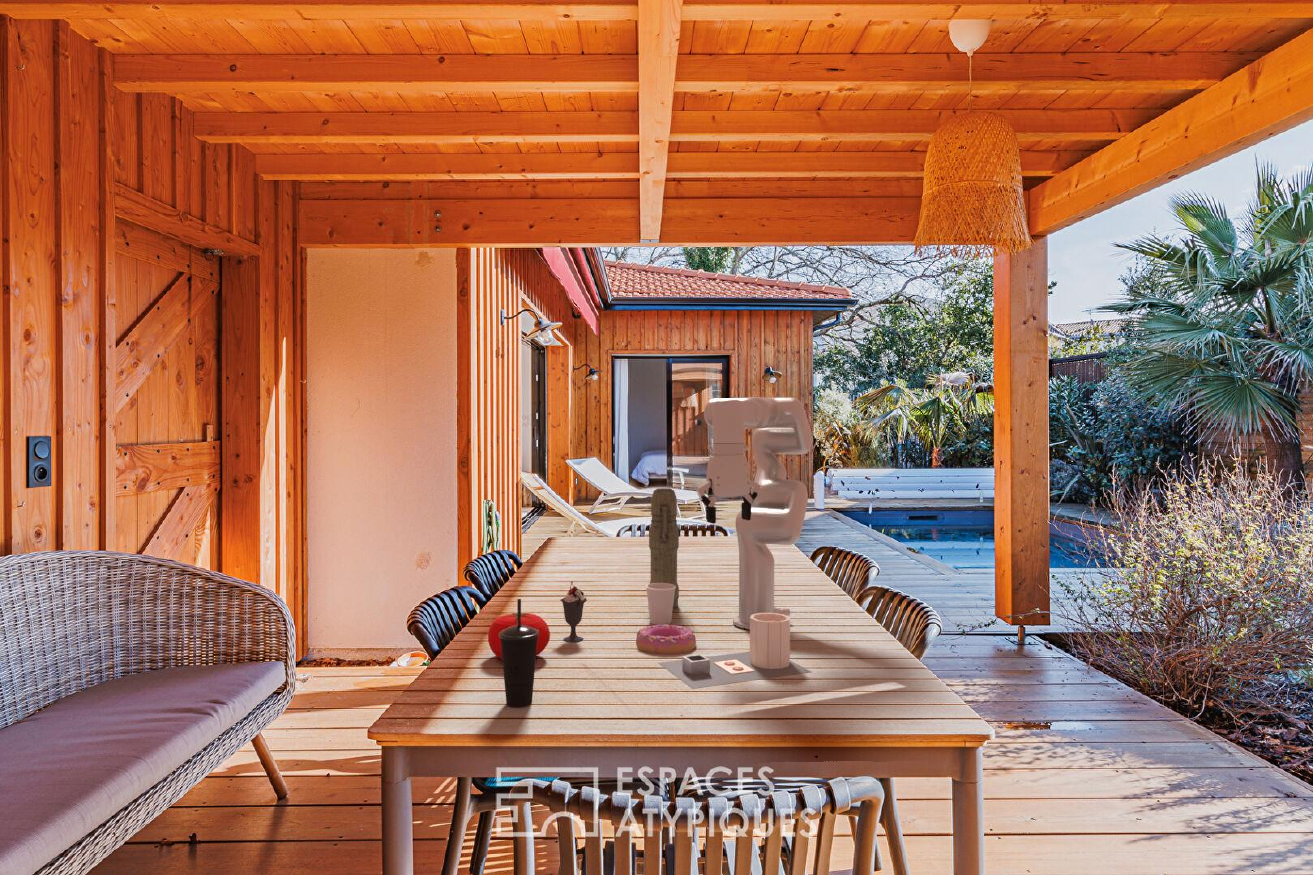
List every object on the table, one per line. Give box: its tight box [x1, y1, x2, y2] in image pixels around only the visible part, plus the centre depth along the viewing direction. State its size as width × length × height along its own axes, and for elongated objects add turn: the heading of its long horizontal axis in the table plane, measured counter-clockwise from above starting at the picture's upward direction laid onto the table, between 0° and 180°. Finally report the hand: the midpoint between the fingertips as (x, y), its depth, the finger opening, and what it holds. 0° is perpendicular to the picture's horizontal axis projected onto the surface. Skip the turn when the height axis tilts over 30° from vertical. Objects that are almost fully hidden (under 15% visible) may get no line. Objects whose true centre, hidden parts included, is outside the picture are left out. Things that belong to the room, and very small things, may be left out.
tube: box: [749, 613, 791, 669], centre depth 169 cm, size 9×9×10 cm
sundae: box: [559, 581, 588, 643], centre depth 191 cm, size 7×7×15 cm
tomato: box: [487, 612, 551, 660], centre depth 176 cm, size 14×13×10 cm
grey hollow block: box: [681, 653, 710, 676], centre depth 162 cm, size 4×4×3 cm
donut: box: [635, 624, 697, 655], centre depth 182 cm, size 14×14×5 cm
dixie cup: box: [645, 583, 676, 625], centre depth 209 cm, size 8×8×10 cm
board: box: [658, 651, 812, 690], centre depth 165 cm, size 28×18×2 cm, turn 112°
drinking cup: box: [499, 598, 539, 709], centre depth 147 cm, size 8×8×20 cm
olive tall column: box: [648, 487, 680, 610], centre depth 227 cm, size 9×12×35 cm
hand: (728, 521), depth 185 cm, fingers open, 9 cm apart
